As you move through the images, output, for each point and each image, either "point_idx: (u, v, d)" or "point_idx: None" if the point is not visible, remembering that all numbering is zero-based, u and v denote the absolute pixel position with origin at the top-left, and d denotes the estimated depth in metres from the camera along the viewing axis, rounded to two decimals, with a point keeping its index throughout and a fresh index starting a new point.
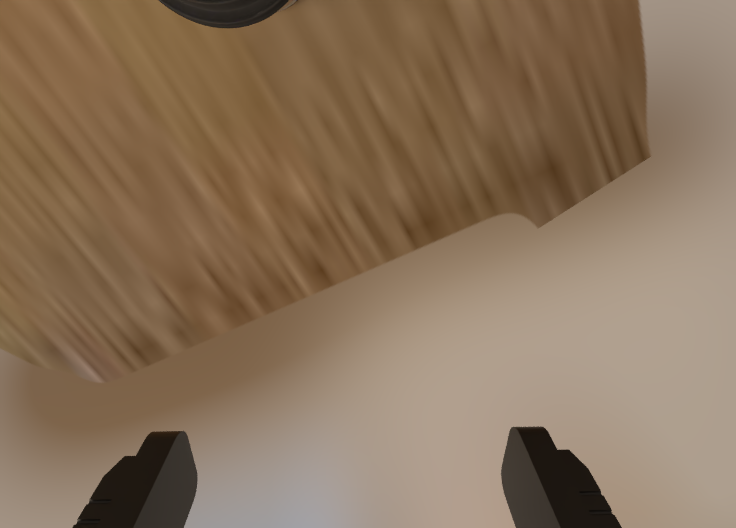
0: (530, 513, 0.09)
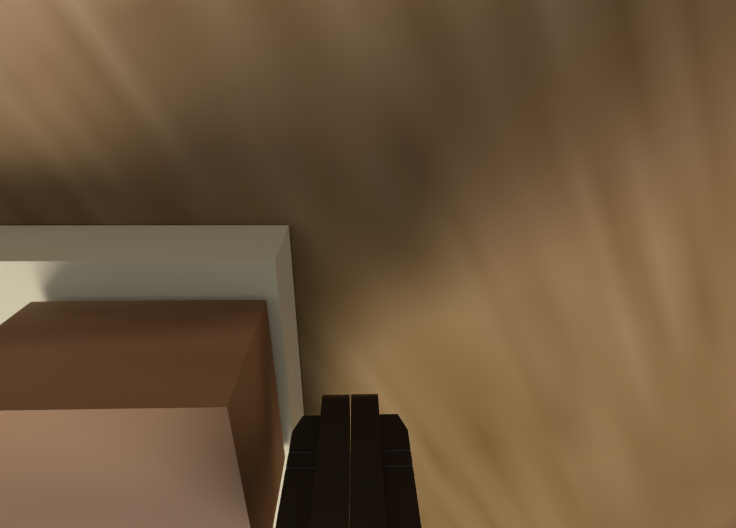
0: None
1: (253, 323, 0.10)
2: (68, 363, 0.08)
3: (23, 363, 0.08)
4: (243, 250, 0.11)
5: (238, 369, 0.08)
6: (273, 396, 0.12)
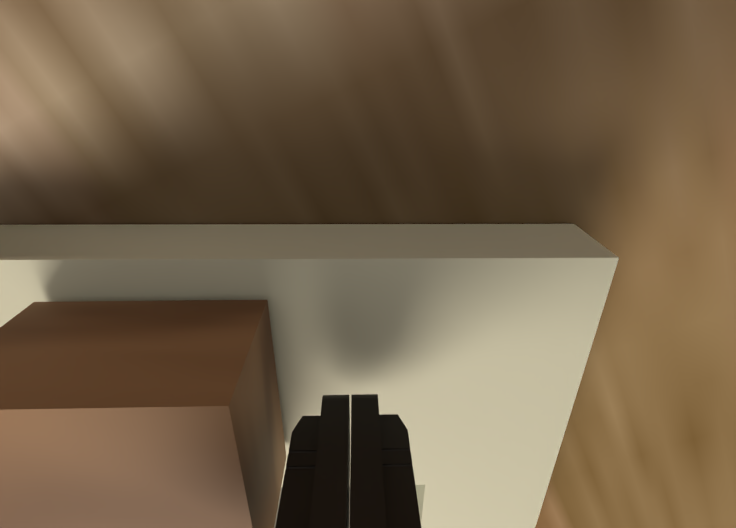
0: None
1: (254, 322, 0.10)
2: (72, 362, 0.09)
3: (26, 363, 0.09)
4: (573, 248, 0.11)
5: (239, 368, 0.08)
6: (274, 395, 0.12)
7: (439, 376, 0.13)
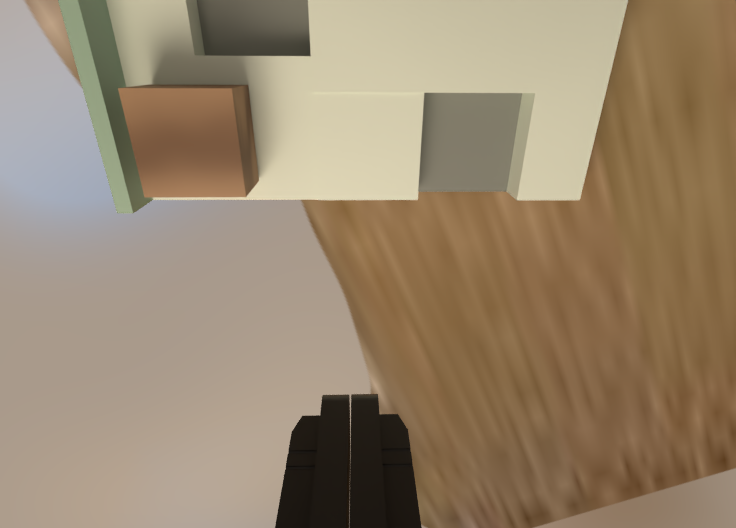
0: None
1: (242, 85, 0.24)
2: (173, 87, 0.23)
3: (157, 86, 0.23)
4: None
5: (235, 87, 0.23)
6: (251, 134, 0.26)
7: None
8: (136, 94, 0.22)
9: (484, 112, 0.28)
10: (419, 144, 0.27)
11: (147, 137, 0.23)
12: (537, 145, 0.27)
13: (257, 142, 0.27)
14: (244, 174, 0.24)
